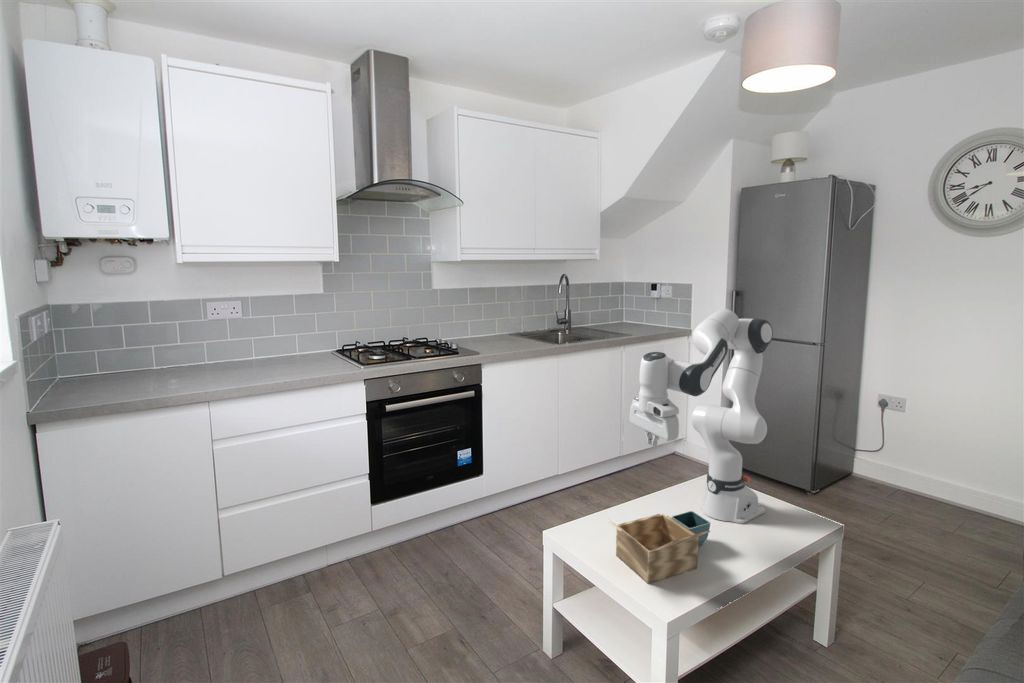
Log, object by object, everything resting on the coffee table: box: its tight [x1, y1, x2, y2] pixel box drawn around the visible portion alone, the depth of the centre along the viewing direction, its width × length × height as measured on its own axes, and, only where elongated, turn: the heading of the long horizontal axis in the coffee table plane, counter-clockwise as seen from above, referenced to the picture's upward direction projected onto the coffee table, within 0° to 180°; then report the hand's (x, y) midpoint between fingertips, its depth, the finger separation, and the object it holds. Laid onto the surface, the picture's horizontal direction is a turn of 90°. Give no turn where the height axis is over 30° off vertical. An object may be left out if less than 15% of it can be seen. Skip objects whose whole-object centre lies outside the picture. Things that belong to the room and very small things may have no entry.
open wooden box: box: [615, 513, 699, 585], centre depth 163 cm, size 19×17×10 cm
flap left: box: [656, 530, 711, 550], centre depth 151 cm, size 13×9×1 cm
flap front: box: [604, 517, 640, 545], centre depth 156 cm, size 9×8×1 cm
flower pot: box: [671, 510, 711, 548], centre depth 172 cm, size 9×9×9 cm
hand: (652, 444), depth 171 cm, fingers closed
